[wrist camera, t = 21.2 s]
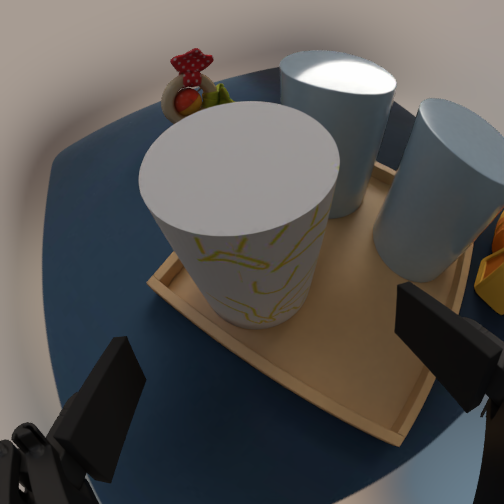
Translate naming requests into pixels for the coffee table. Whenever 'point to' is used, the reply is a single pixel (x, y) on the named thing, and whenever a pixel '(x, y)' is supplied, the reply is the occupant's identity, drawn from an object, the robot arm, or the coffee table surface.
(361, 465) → the coffee table surface
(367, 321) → the tray
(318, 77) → the slate blue cylinder
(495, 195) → the grey-blue cylinder
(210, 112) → the light grey cylinder
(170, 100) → the bird rattle
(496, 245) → the toy figure
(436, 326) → the robot arm
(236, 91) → the coffee table surface
